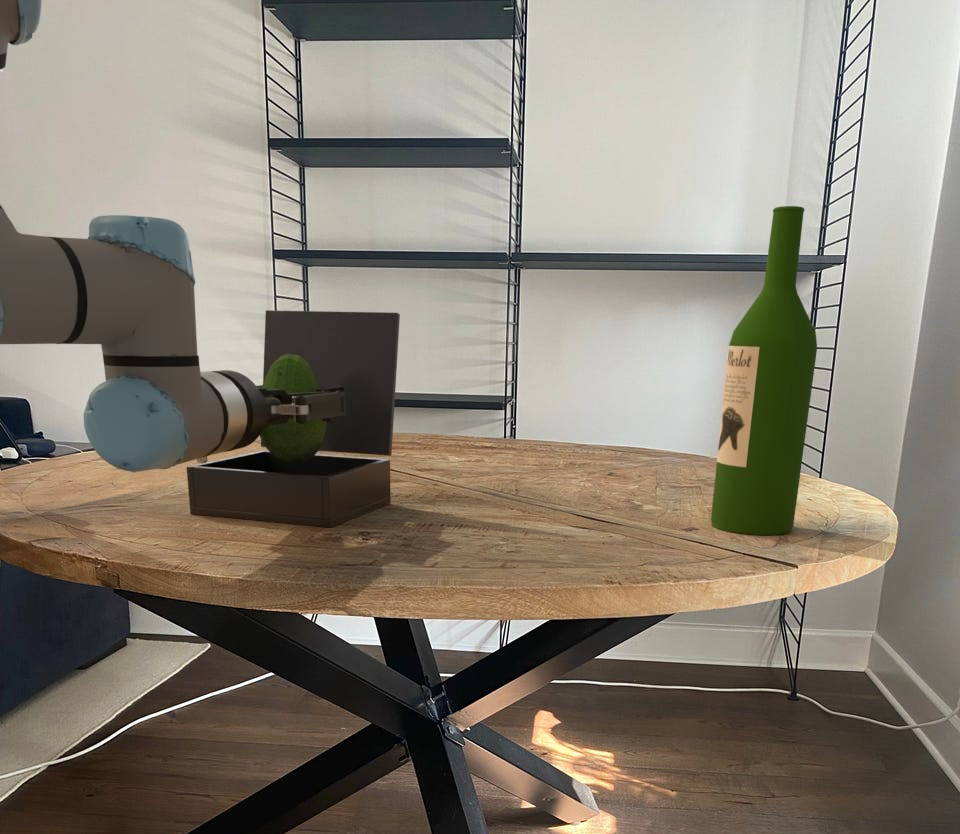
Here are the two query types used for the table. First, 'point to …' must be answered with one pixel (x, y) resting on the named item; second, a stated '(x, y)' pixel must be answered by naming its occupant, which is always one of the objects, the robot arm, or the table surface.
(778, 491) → the wine bottle
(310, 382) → the avocado
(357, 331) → the tin lid
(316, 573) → the table surface
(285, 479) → the tin
